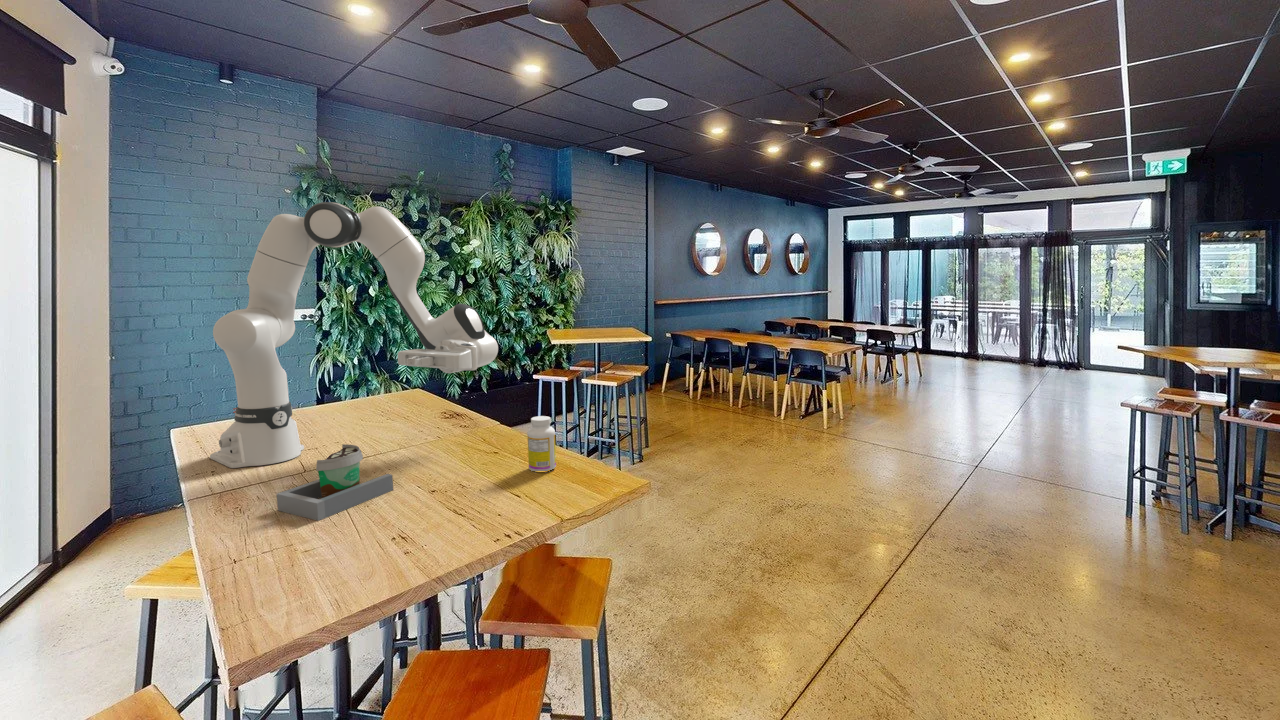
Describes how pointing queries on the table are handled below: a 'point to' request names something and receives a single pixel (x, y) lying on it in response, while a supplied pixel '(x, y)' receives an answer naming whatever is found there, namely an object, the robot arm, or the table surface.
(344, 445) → the food container
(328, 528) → the table surface
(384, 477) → the grey rectangular tray
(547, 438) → the supplement bottle
